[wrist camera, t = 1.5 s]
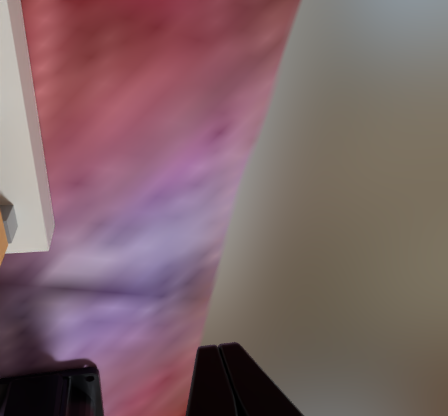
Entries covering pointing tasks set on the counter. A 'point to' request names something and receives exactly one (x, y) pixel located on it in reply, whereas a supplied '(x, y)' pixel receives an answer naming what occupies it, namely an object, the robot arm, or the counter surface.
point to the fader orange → (2, 240)
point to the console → (21, 143)
